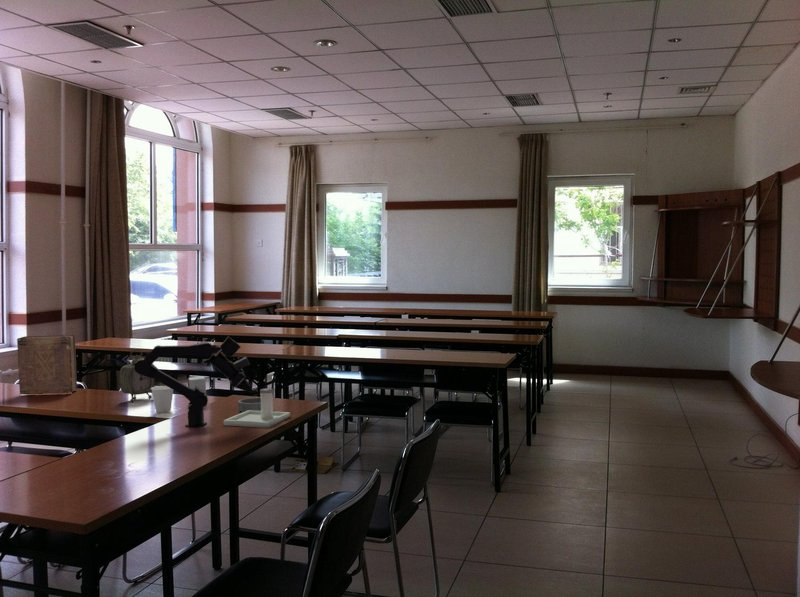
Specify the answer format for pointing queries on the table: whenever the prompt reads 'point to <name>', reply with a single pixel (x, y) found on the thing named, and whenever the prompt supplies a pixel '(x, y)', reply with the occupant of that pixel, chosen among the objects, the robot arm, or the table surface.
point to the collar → (250, 404)
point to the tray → (255, 419)
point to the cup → (162, 398)
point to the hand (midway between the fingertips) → (251, 390)
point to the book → (47, 364)
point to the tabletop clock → (135, 380)
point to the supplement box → (197, 383)
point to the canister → (266, 403)
